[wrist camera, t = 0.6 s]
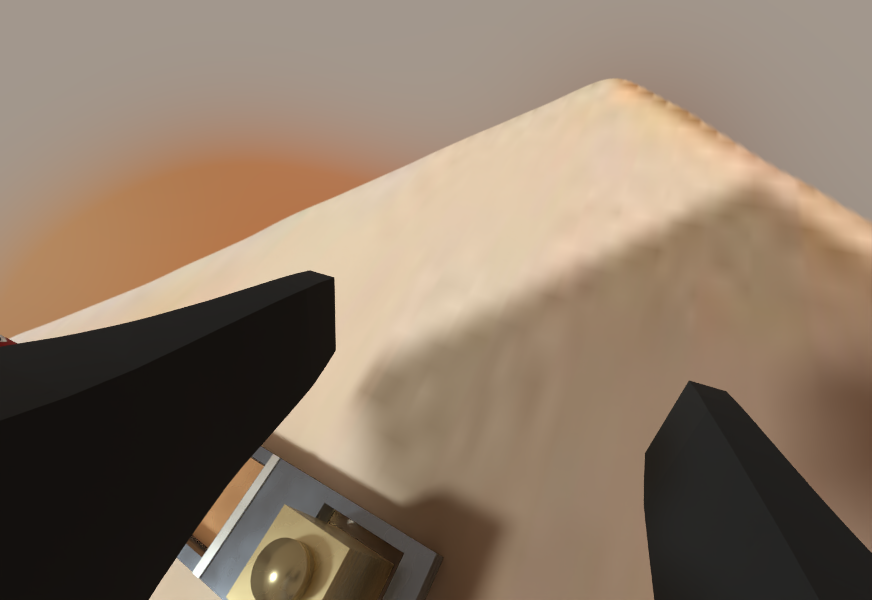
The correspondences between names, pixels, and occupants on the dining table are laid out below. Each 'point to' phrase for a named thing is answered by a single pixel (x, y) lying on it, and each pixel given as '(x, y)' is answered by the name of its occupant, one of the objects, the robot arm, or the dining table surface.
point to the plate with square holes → (258, 508)
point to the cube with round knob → (310, 563)
